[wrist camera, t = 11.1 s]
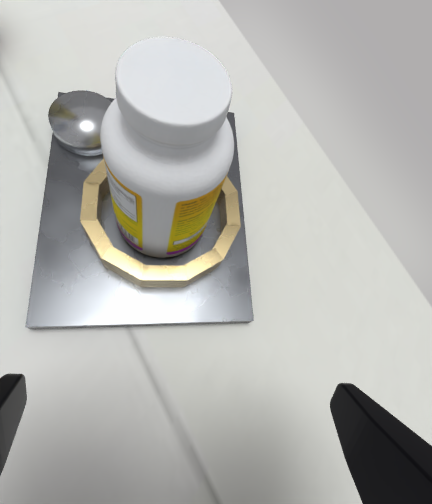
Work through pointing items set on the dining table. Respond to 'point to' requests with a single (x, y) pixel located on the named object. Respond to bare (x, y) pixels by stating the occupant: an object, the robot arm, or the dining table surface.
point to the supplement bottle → (167, 143)
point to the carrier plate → (126, 244)
